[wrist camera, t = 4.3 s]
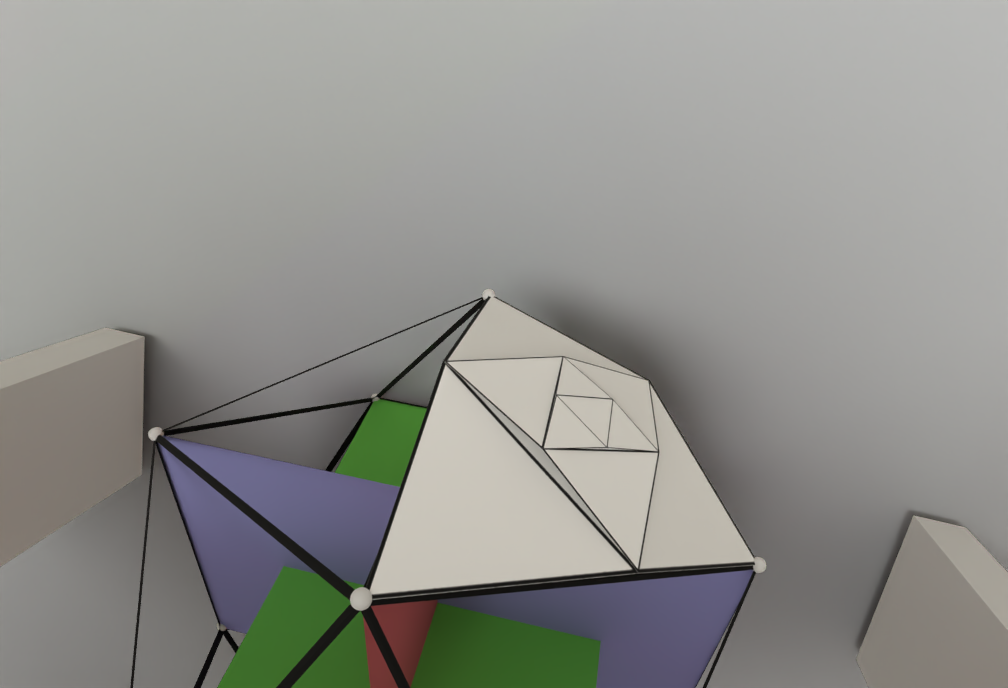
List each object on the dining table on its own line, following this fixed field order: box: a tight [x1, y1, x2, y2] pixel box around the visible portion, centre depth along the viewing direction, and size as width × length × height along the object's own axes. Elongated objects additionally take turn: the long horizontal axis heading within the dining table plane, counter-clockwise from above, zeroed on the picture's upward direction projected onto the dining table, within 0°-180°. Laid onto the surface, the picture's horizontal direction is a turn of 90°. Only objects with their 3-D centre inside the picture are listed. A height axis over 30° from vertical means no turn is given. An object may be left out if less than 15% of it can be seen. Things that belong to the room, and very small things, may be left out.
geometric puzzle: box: [130, 289, 766, 688], centre depth 8 cm, size 7×7×8 cm
